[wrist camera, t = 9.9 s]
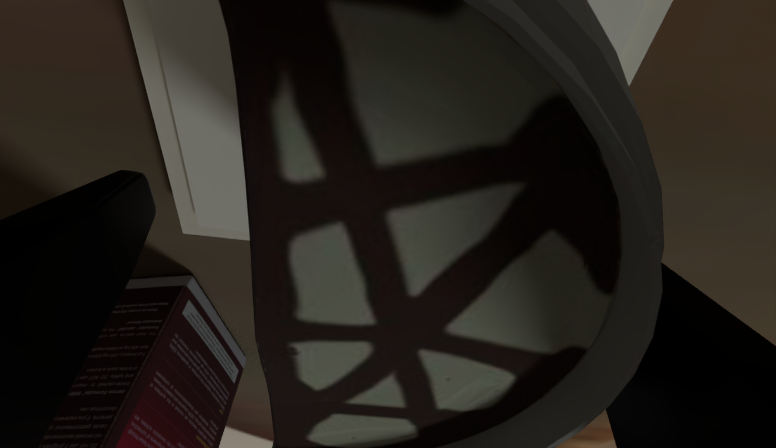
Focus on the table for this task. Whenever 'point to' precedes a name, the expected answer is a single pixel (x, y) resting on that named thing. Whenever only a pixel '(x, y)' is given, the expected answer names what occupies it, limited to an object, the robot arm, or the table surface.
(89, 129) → the table surface
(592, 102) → the food container
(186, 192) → the white square tray
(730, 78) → the table surface
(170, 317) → the supplement box
